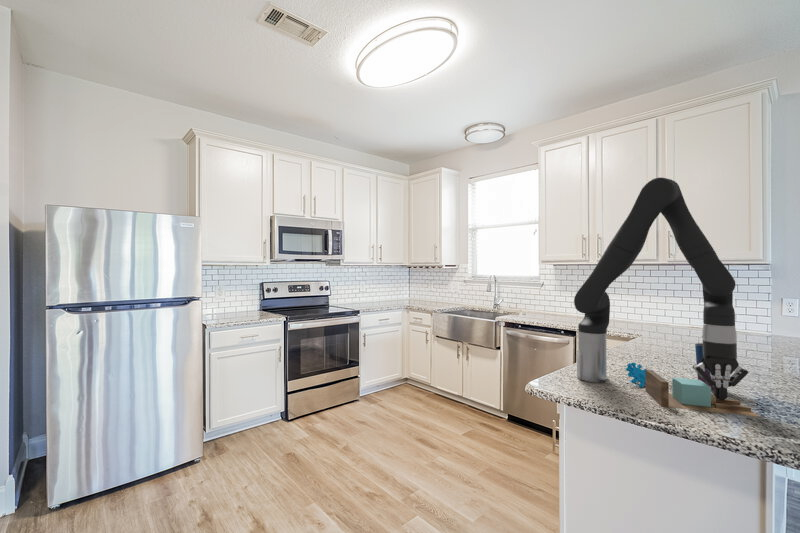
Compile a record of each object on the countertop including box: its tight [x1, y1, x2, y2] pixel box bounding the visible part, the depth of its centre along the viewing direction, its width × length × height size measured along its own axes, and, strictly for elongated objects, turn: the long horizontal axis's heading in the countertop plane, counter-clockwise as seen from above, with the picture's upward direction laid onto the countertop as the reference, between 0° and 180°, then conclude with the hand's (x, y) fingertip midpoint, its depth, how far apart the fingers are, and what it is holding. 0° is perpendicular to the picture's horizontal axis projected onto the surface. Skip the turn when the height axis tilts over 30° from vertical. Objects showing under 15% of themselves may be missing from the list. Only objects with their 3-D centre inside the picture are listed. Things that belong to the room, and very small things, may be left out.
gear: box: [625, 362, 648, 388], centre depth 127 cm, size 11×6×10 cm
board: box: [644, 369, 762, 418], centre depth 108 cm, size 23×14×8 cm, turn 72°
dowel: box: [711, 393, 716, 405], centre depth 108 cm, size 8×3×3 cm, turn 71°
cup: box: [694, 342, 713, 391], centre depth 123 cm, size 7×7×15 cm
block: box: [671, 377, 712, 407], centre depth 109 cm, size 7×7×6 cm
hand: (720, 399), depth 107 cm, fingers closed
